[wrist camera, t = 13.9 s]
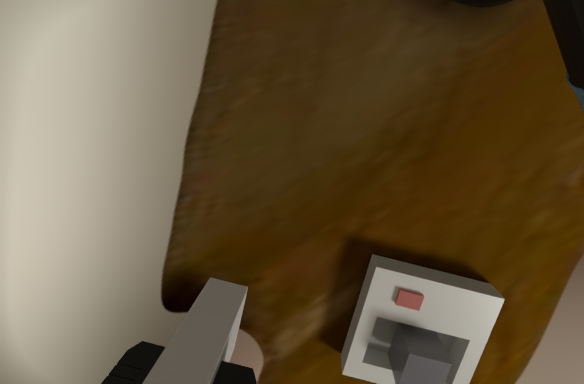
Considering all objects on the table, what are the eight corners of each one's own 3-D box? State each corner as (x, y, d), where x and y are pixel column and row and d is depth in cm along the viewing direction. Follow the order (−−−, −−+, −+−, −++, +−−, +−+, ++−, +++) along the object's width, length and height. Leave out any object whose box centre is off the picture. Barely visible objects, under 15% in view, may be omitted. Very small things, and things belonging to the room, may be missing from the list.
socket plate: (372, 254, 50) (377, 269, 45) (490, 283, 49) (507, 301, 45) (340, 354, 54) (342, 377, 49) (450, 382, 53) (461, 408, 49)
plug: (396, 315, 51) (409, 353, 43) (432, 324, 51) (452, 364, 43) (385, 346, 52) (396, 388, 45) (421, 355, 52) (437, 399, 44)
